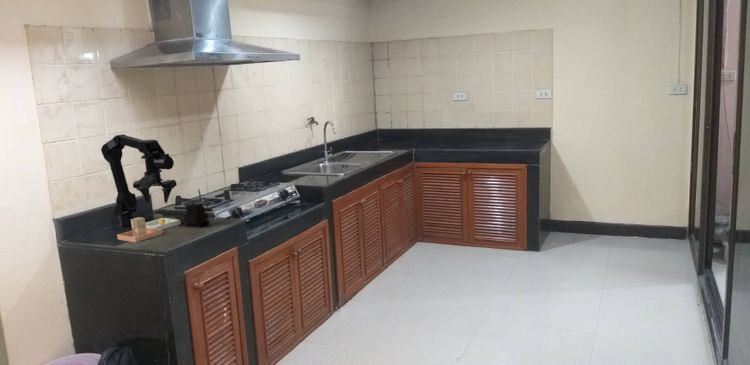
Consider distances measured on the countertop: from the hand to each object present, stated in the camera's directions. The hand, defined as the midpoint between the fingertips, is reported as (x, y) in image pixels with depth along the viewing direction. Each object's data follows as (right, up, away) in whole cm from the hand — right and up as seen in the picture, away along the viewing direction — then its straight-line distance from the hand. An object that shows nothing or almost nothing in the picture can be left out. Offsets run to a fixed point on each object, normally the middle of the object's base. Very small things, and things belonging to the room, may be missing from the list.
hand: (157, 202), depth 269 cm
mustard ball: (0, -10, +8) cm, 13 cm away
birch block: (-3, -14, -11) cm, 18 cm away
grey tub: (0, -12, +5) cm, 12 cm away
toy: (+20, -11, +1) cm, 23 cm away
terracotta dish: (-3, -15, -11) cm, 19 cm away
